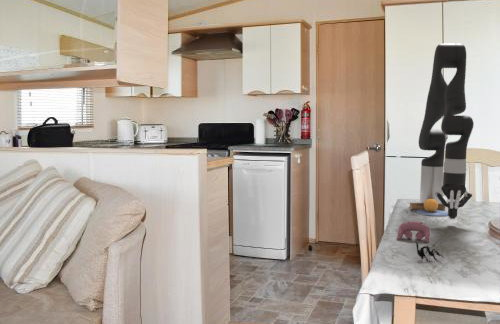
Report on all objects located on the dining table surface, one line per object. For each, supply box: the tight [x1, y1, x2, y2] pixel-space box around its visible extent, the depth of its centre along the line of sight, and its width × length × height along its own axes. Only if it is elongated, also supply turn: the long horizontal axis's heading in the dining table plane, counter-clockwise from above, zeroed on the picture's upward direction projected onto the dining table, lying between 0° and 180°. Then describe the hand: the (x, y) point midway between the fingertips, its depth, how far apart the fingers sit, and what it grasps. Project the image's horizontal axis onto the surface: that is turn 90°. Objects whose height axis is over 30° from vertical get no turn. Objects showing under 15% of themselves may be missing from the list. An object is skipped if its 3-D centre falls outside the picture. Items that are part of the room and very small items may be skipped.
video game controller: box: [397, 220, 431, 244], centre depth 160 cm, size 10×5×7 cm, turn 66°
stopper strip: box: [409, 202, 446, 211], centre depth 211 cm, size 2×14×2 cm, turn 87°
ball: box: [424, 199, 438, 212], centre depth 205 cm, size 6×6×6 cm
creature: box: [414, 240, 445, 264], centre depth 138 cm, size 8×5×8 cm
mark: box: [415, 209, 449, 217], centre depth 203 cm, size 13×13×1 cm
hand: (452, 218), depth 181 cm, fingers closed
